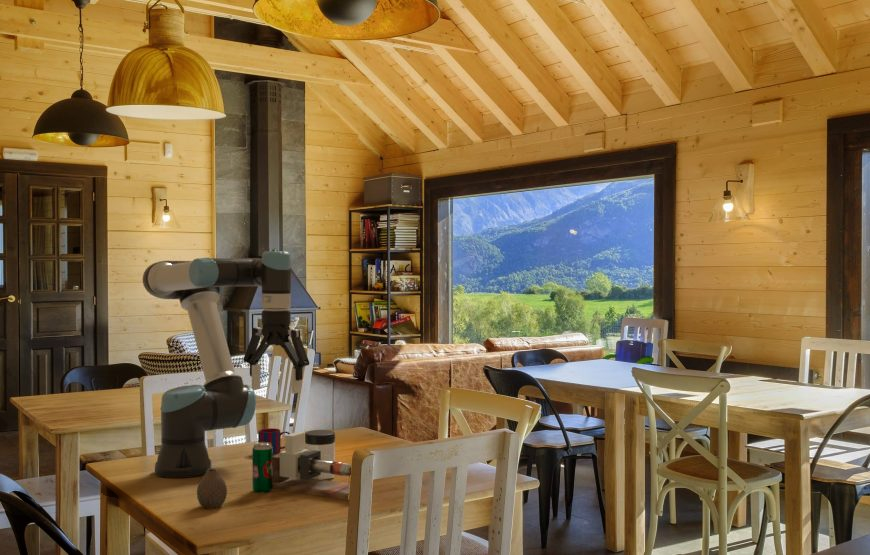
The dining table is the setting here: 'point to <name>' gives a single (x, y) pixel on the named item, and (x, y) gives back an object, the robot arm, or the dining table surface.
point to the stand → (308, 484)
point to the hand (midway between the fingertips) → (275, 391)
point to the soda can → (262, 467)
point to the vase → (211, 490)
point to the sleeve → (292, 455)
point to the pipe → (328, 467)
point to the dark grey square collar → (305, 464)
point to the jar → (322, 447)
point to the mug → (271, 438)
